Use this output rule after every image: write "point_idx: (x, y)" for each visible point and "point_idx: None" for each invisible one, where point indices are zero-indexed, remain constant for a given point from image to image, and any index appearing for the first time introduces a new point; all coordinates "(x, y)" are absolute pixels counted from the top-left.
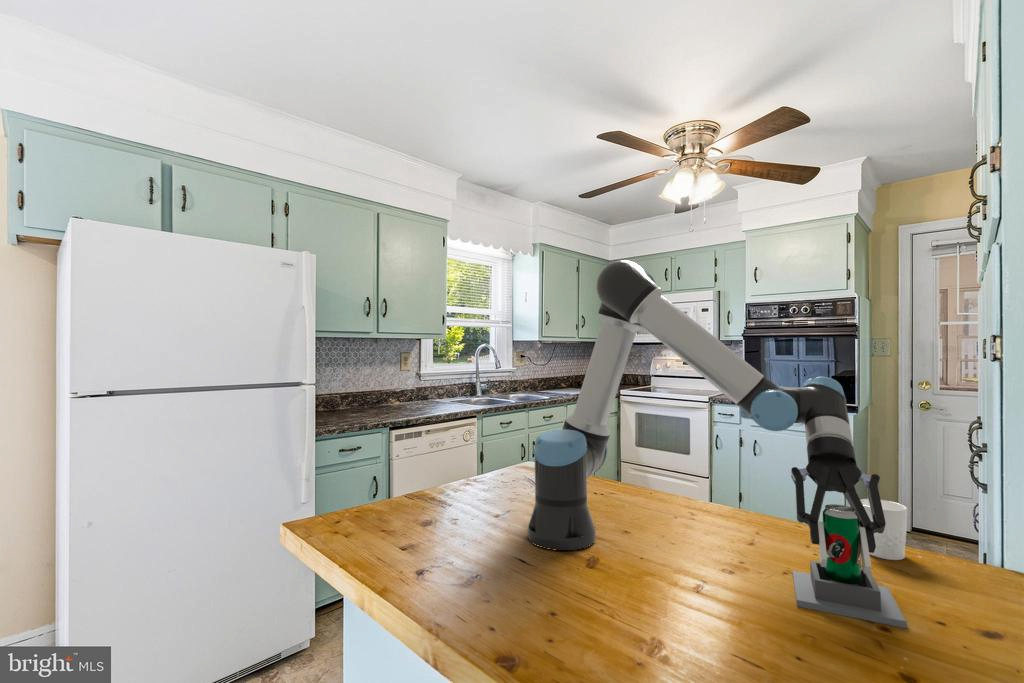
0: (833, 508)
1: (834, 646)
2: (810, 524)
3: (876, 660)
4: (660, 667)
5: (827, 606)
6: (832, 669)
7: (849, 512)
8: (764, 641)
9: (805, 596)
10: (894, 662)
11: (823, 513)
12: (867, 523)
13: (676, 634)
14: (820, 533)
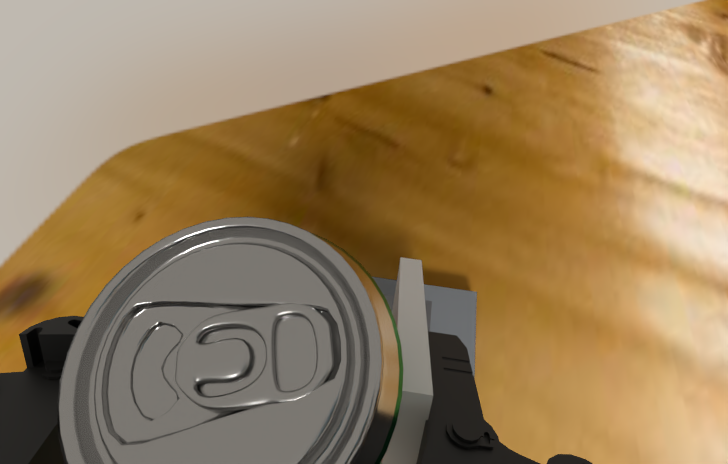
0: (312, 309)
1: (416, 141)
2: (478, 414)
3: (351, 120)
4: (691, 16)
5: (396, 281)
6: (435, 77)
7: (198, 225)
8: (546, 120)
9: (448, 324)
10: (321, 123)
11: (401, 358)
12: (76, 329)
13: (707, 97)
14: (419, 331)
